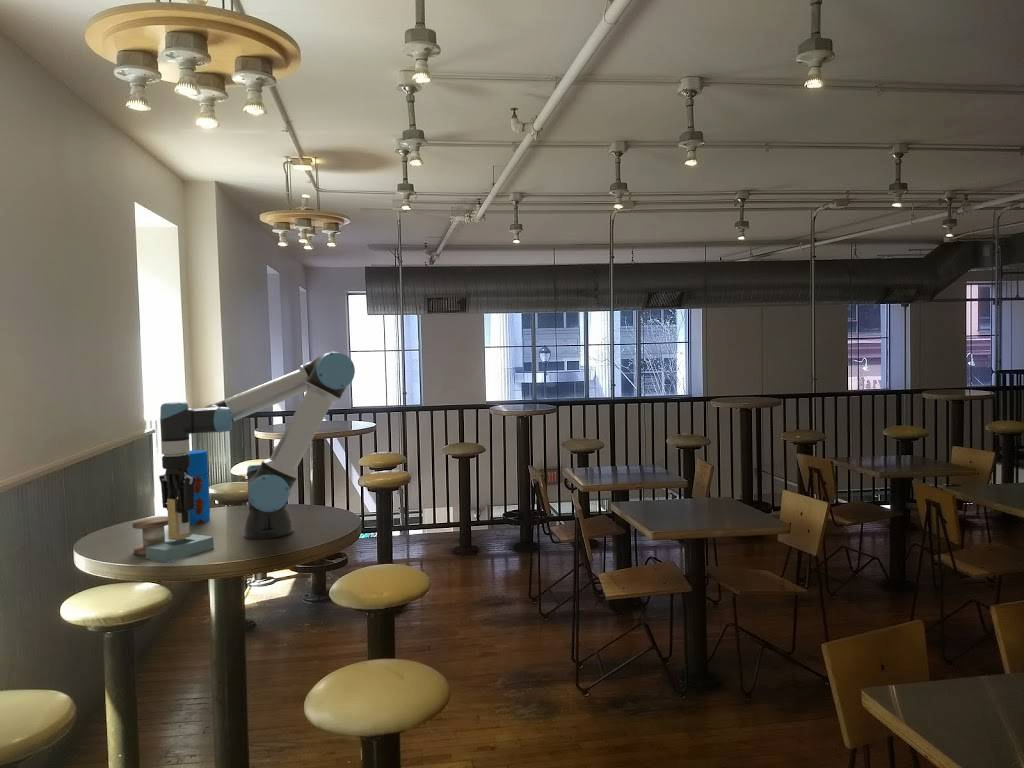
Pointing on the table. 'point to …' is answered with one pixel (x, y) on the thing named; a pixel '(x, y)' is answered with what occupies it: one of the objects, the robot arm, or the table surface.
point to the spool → (150, 532)
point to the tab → (174, 520)
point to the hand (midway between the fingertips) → (179, 532)
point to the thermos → (199, 487)
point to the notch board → (179, 548)
